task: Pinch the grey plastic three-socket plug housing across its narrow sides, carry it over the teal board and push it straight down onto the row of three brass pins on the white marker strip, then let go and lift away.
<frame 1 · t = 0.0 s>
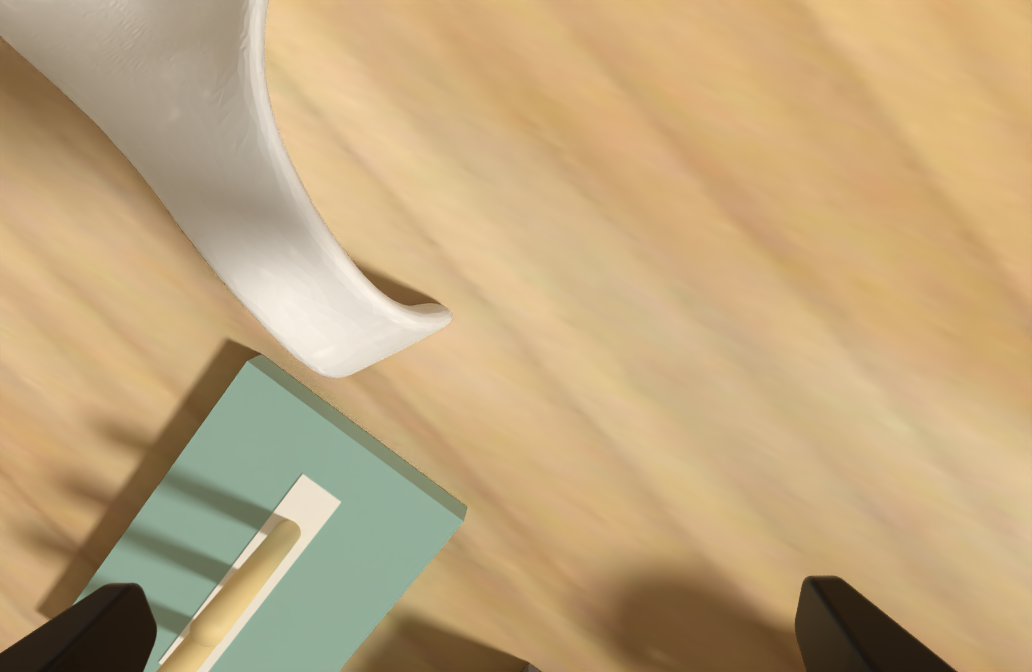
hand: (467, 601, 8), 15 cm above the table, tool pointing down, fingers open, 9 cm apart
spoon rest: (250, 57, 23), on the table
header board: (260, 567, 26), on the table
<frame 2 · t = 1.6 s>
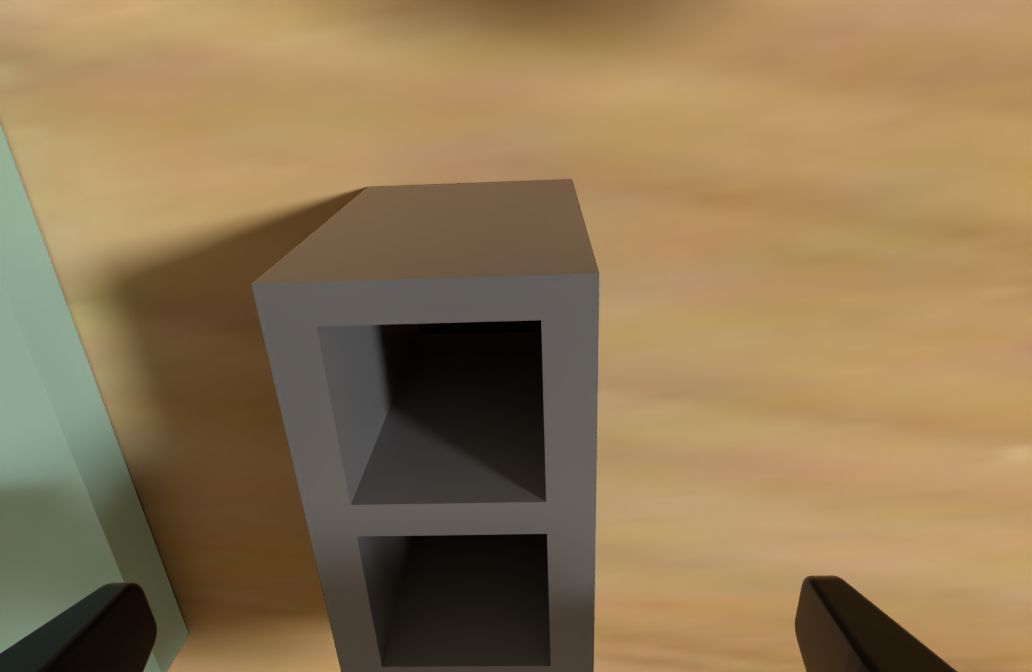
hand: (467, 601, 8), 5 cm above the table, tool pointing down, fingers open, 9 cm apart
plug housing: (485, 408, 13), on the table
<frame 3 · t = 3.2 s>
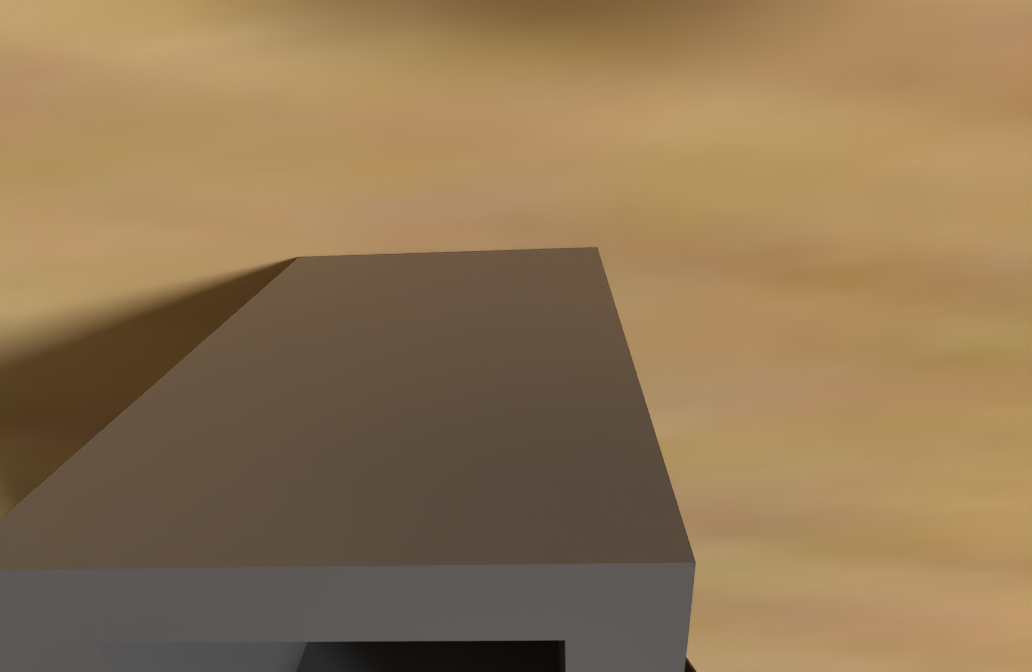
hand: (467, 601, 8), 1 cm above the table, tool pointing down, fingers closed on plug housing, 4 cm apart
plug housing: (473, 546, 9), on the table, touching gripper
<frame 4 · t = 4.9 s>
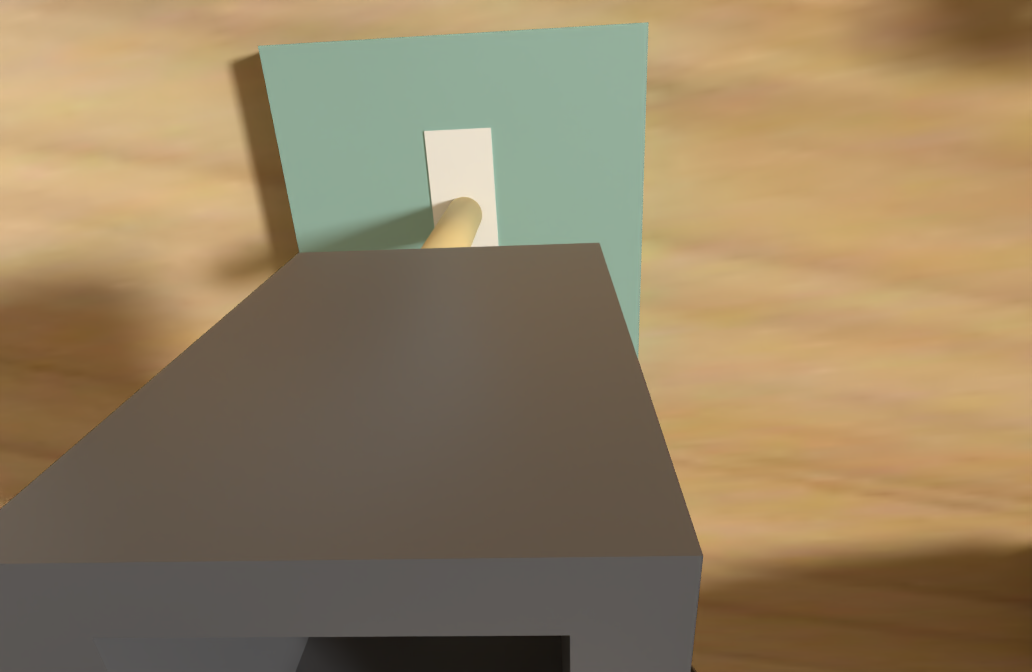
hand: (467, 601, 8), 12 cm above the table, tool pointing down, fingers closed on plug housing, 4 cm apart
header board: (477, 295, 20), on the table
plug housing: (474, 544, 9), point 11 cm above the table, touching gripper
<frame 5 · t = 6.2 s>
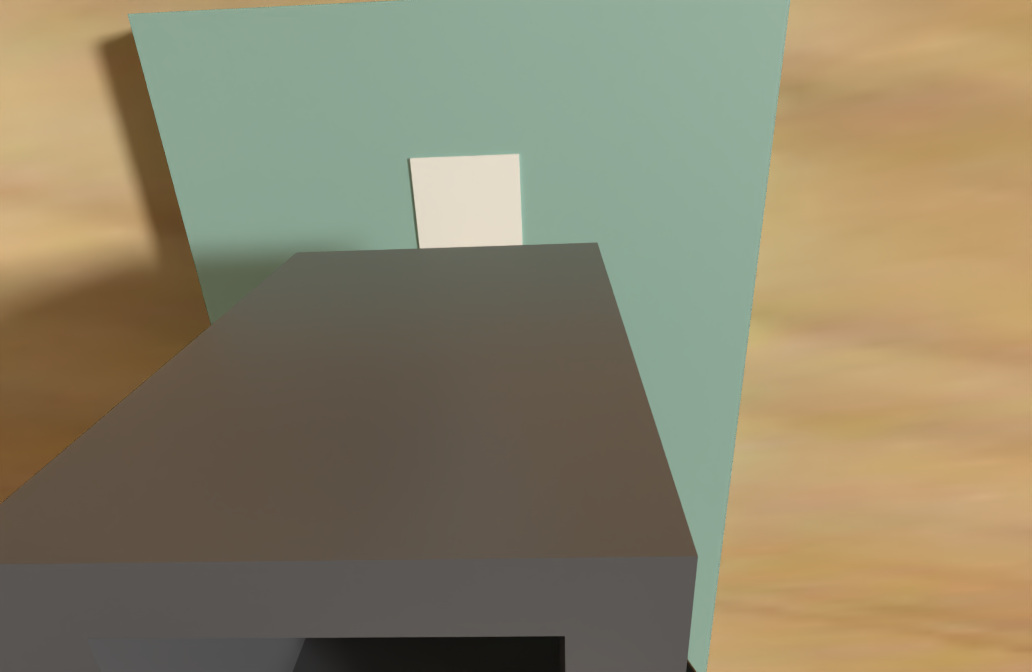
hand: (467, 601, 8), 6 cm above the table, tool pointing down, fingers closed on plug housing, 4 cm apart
header board: (488, 393, 14), on the table
plug housing: (472, 545, 9), point 5 cm above the table, touching gripper
when the fingers open (3 cm above the table, at t = 7.1 s): plug housing stays where it is, resting on header board.
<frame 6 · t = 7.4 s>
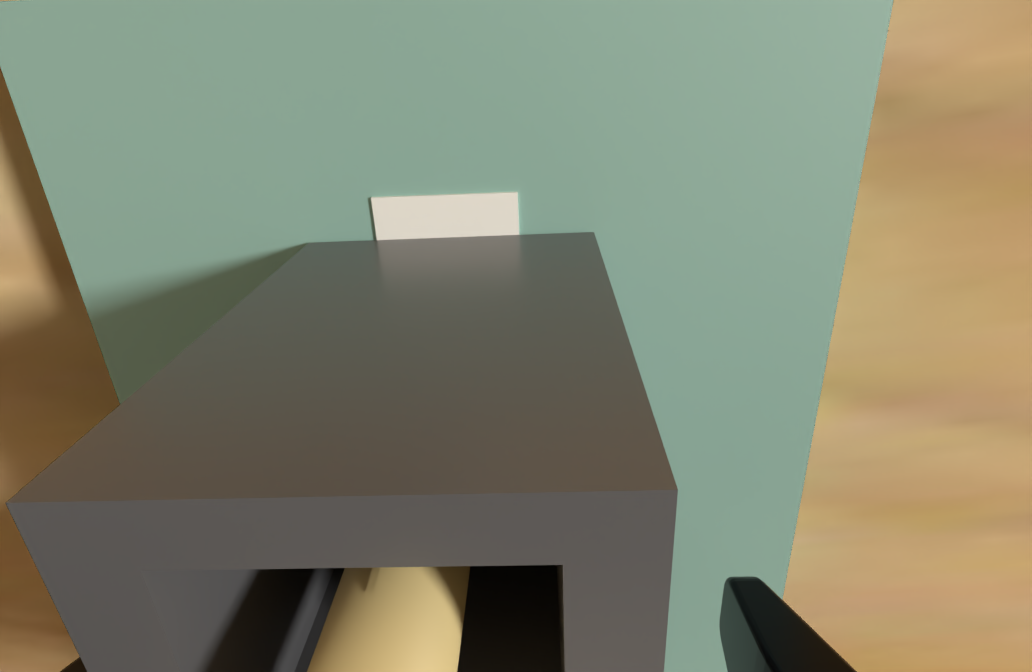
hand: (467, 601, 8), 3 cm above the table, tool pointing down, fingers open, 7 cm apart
header board: (480, 477, 11), on the table
plug housing: (476, 523, 10), point 1 cm above the table, touching header board
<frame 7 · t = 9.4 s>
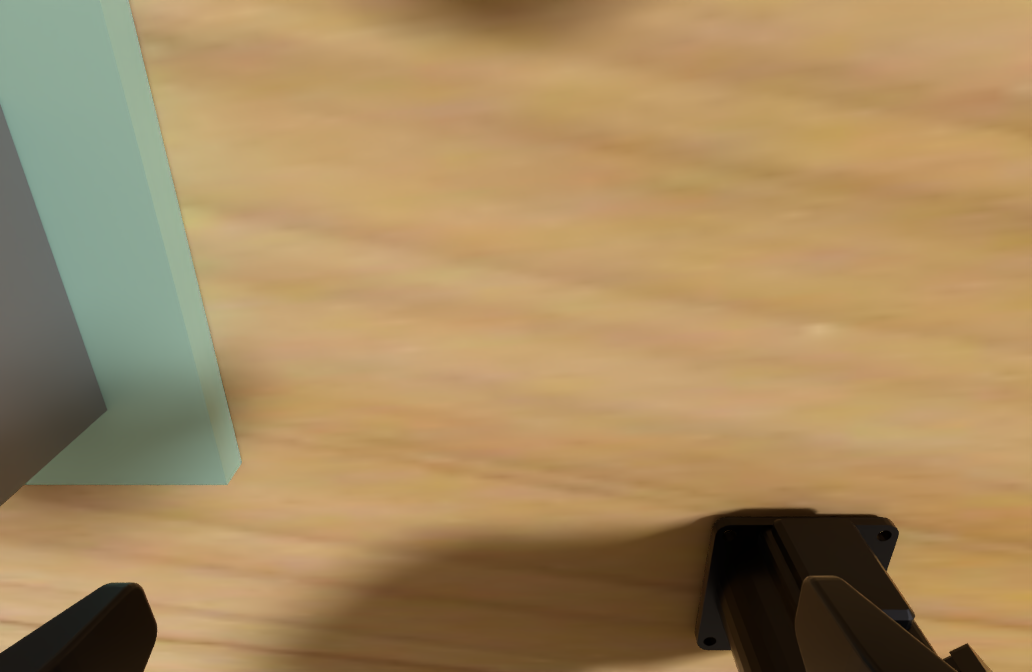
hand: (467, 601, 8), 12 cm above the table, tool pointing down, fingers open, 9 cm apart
header board: (26, 259, 19), on the table
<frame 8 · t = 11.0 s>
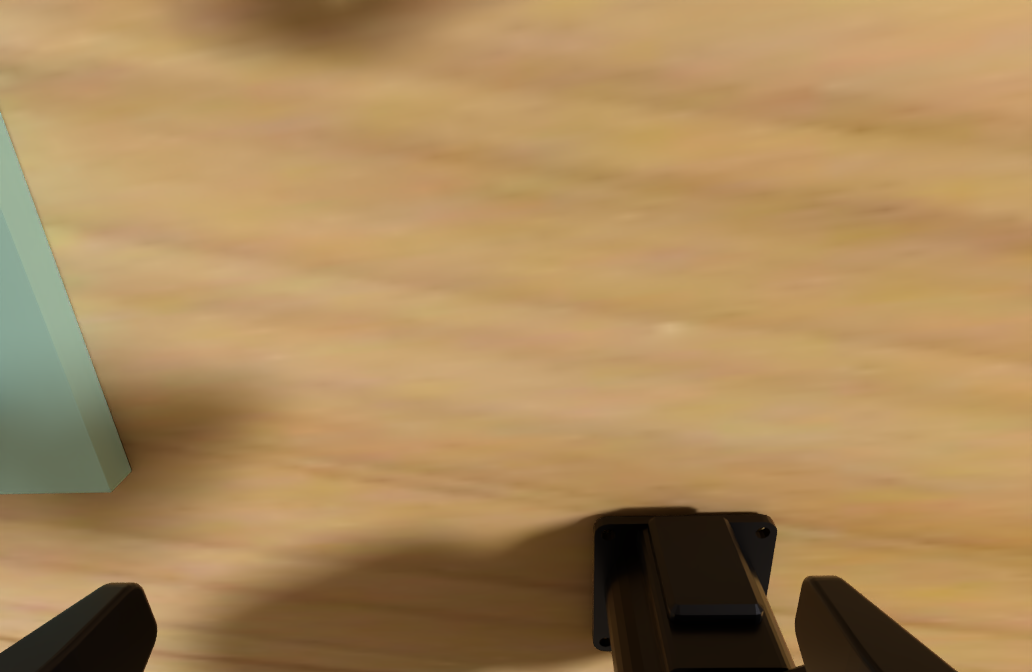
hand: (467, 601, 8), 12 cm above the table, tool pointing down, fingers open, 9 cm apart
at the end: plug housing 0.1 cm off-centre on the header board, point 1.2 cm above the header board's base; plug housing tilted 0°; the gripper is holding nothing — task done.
